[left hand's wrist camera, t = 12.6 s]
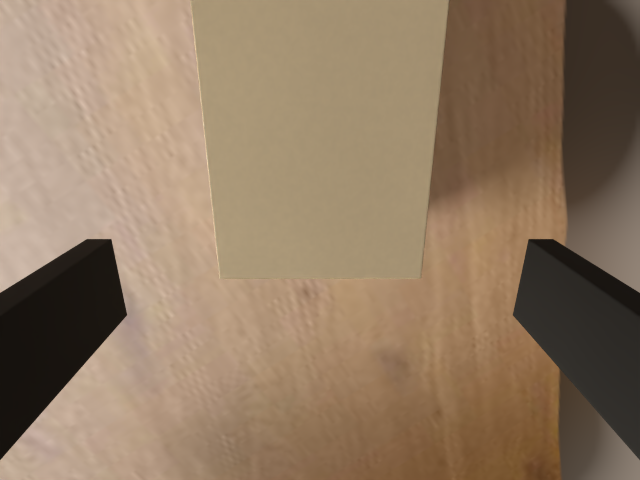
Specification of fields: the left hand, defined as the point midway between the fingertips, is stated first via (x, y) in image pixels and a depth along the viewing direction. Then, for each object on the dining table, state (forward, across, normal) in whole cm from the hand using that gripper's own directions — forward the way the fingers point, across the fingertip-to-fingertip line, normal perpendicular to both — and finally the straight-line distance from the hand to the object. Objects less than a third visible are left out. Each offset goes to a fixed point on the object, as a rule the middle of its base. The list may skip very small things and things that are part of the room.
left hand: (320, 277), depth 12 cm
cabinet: (+16, 0, -7) cm, 18 cm away
